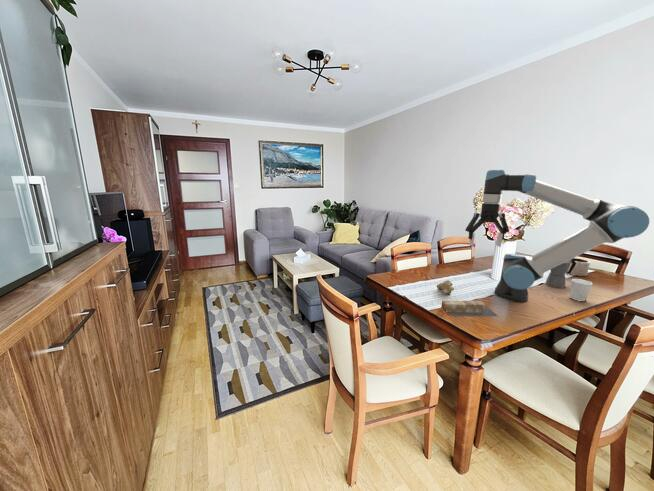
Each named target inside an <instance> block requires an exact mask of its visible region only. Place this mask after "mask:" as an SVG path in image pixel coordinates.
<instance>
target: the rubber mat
mask: <svg viewBox="0 0 654 491" xmlns="http://www.w3.org/2000/svg"><path fill="white" fill-rule="evenodd" d="M449 313H450V315H451V316H452V317H499V315H498V314H497V313H495V312H494V311H493V310H492V309H491V308H489V307H488V306H487V305H485V304H484V311H483V313H477V312H449Z"/></svg>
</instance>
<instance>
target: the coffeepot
mask: <svg viewBox="0 0 654 491" xmlns="http://www.w3.org/2000/svg"><path fill="white" fill-rule="evenodd" d="M571 263H572V265H571V268H570V269H569V271H568V272H567V270H568V268H569V266H570V264H571ZM575 265H576V262H575V261H574V260H569V261H567V262H565V263H563V264H561V265H559V266H556V267H554V268H552V269H550V270H549V271H550V272H549V273H548V275H547V278H546V280H545V283H546V285H548V286H550V287H554V288H559V287H563V288H566V274H568V273H571V271H572V270H573V268H574V267H575Z"/></svg>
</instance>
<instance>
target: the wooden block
mask: <svg viewBox="0 0 654 491" xmlns="http://www.w3.org/2000/svg"><path fill="white" fill-rule="evenodd" d="M484 305H485V304H484V303H483V302H482V301H480V300H441V307H440V308H441V310H442V311H443V312H444V313H450V312H477V313H483V311H484Z"/></svg>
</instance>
